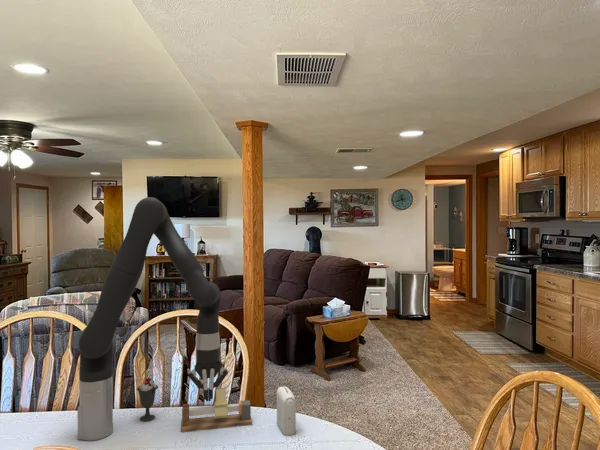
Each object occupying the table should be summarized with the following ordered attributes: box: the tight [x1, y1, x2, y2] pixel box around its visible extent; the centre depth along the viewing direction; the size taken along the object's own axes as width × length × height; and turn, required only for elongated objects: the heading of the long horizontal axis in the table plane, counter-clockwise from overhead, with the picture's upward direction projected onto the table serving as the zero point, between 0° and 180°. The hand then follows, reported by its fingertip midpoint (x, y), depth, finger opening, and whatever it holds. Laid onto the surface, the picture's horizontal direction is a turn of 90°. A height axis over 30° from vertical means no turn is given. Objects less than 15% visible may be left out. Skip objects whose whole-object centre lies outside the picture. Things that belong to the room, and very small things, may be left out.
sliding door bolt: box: [189, 399, 252, 420], centre depth 142 cm, size 21×4×5 cm, turn 103°
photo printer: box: [276, 385, 297, 436], centre depth 138 cm, size 10×4×12 cm, turn 17°
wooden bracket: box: [180, 403, 253, 433], centre depth 142 cm, size 22×7×6 cm, turn 103°
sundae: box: [136, 374, 159, 422], centre depth 147 cm, size 7×7×15 cm
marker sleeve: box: [214, 387, 229, 419], centre depth 142 cm, size 4×4×8 cm
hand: (208, 400), depth 142 cm, fingers closed
